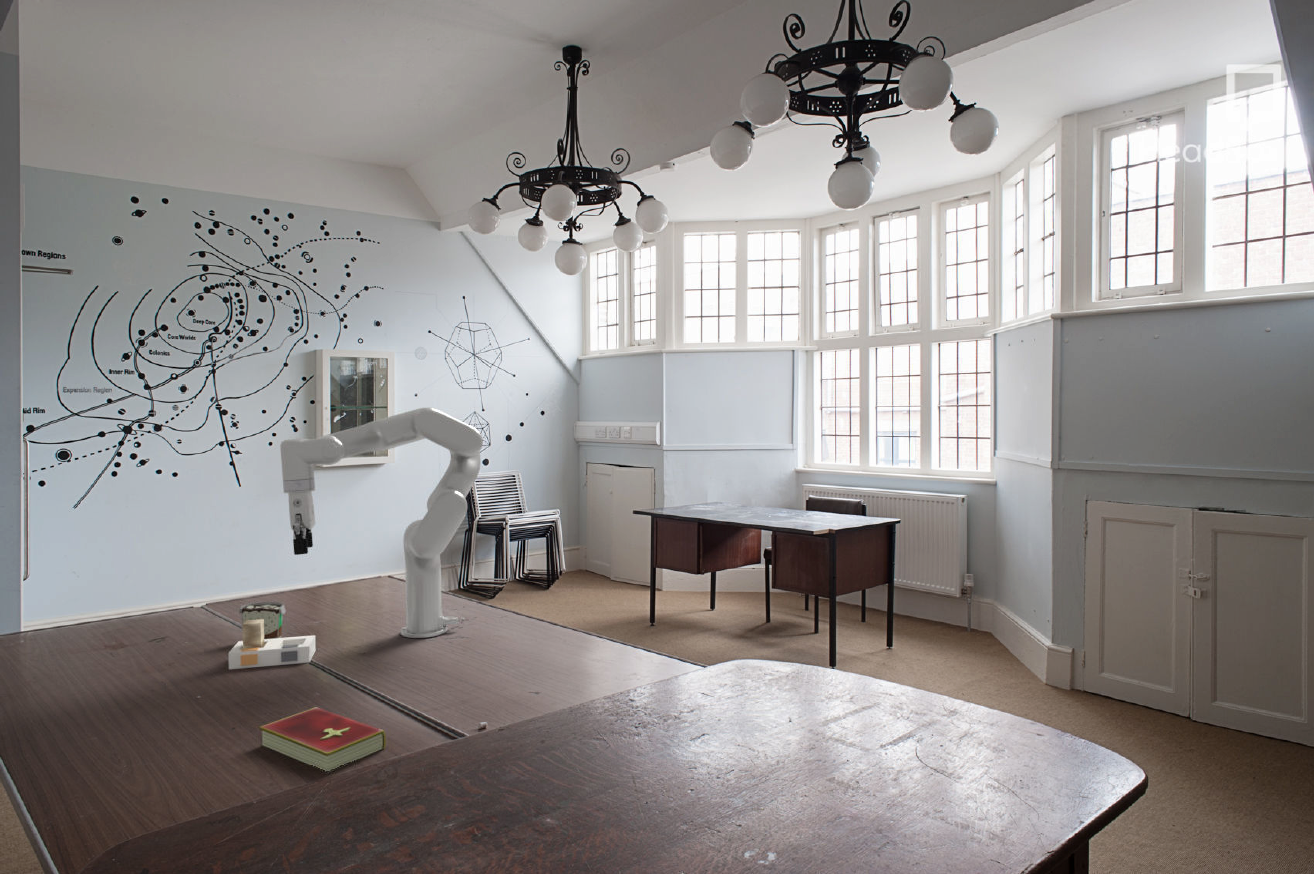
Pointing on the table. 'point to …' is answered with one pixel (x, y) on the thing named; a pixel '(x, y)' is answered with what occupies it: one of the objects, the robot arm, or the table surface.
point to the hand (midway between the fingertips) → (303, 550)
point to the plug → (253, 633)
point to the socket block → (273, 652)
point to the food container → (265, 616)
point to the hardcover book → (322, 738)
